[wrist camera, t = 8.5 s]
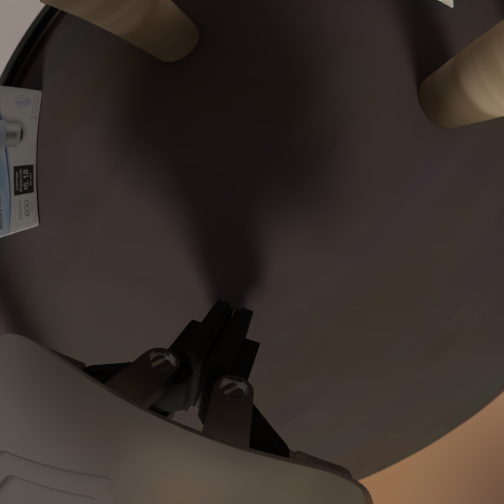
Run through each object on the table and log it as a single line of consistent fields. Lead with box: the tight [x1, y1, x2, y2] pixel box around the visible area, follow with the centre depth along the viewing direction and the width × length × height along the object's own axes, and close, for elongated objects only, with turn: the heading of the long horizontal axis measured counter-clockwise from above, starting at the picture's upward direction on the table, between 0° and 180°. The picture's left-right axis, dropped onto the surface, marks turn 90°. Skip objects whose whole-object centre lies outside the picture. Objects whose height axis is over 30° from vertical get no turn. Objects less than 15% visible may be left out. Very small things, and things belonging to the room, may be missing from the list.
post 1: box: [40, 0, 200, 62], centre depth 6 cm, size 3×3×8 cm
